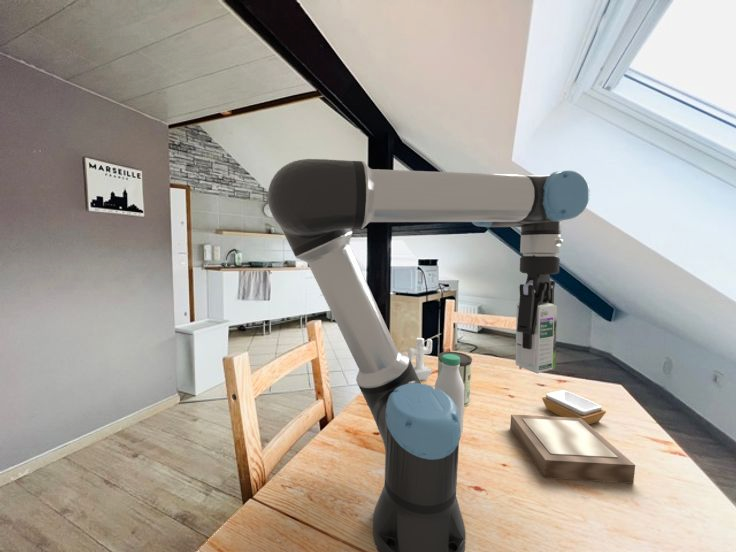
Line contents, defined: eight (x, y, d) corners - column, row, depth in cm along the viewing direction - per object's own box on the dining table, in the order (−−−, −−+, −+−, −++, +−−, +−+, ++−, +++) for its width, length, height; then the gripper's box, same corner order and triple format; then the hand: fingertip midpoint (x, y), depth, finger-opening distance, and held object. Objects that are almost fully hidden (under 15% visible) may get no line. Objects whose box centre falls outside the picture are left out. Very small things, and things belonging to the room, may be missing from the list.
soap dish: (605, 423, 87) (606, 406, 87) (582, 431, 84) (584, 413, 83) (562, 403, 99) (563, 387, 98) (540, 408, 95) (542, 392, 95)
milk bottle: (464, 440, 78) (468, 363, 76) (432, 436, 79) (435, 360, 78) (461, 423, 85) (464, 352, 84) (432, 420, 87) (435, 350, 85)
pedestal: (544, 477, 66) (545, 459, 65) (510, 428, 83) (511, 413, 83) (633, 483, 65) (635, 464, 64) (579, 432, 82) (580, 417, 82)
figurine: (403, 375, 117) (404, 336, 116) (425, 372, 120) (426, 334, 119) (412, 383, 110) (413, 342, 109) (435, 380, 114) (436, 340, 112)
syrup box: (537, 374, 66) (540, 306, 64) (513, 364, 71) (516, 301, 70) (555, 369, 68) (558, 304, 67) (531, 360, 73) (534, 300, 72)
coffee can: (435, 390, 105) (437, 350, 104) (467, 394, 103) (469, 352, 102) (436, 406, 95) (438, 361, 94) (472, 409, 93) (474, 364, 92)
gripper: (540, 256, 58) (535, 375, 60) (573, 254, 71) (568, 352, 73) (501, 255, 63) (497, 364, 66) (538, 253, 77) (534, 345, 79)
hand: (534, 358), depth 69 cm, fingers closed on syrup box, 7 cm apart
